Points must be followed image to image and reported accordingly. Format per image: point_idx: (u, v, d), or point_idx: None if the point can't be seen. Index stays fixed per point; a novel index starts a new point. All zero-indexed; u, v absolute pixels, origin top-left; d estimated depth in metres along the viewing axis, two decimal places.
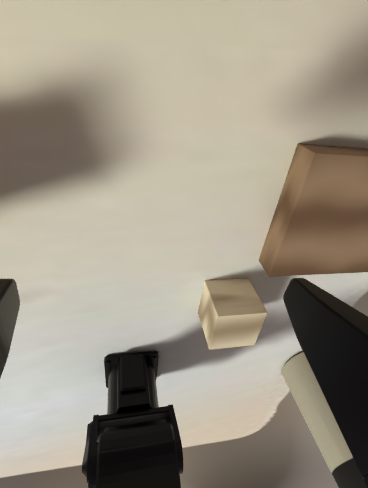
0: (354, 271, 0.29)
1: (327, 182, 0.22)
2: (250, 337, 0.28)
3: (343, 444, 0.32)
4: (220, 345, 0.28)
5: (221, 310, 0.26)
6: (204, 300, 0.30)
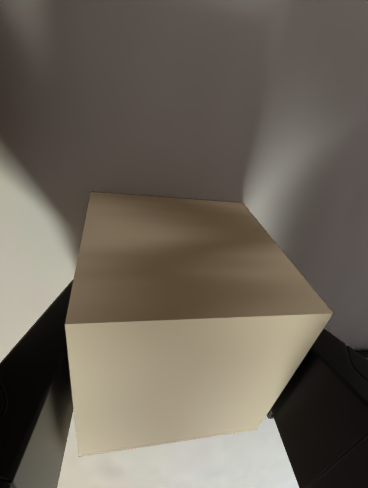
0: None
1: None
2: (259, 343, 0.06)
3: None
4: (251, 413, 0.07)
5: None
6: None
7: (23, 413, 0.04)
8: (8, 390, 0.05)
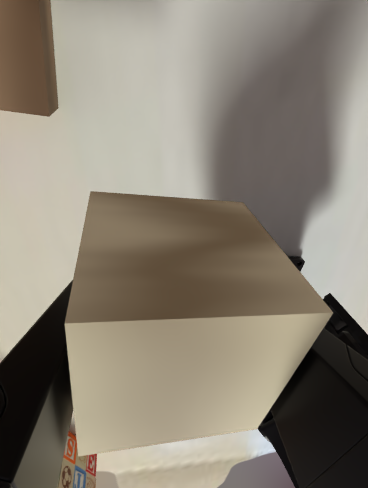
0: None
1: None
2: (258, 342, 0.06)
3: None
4: (251, 413, 0.07)
5: None
6: None
7: (23, 413, 0.04)
8: (8, 390, 0.05)
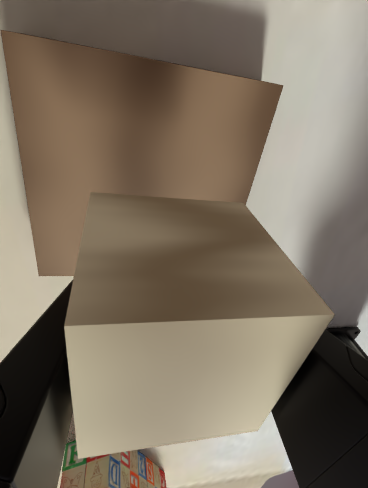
0: (266, 130, 0.14)
1: (76, 249, 0.16)
2: (259, 344, 0.06)
3: None
4: (252, 414, 0.07)
5: None
6: None
7: (23, 413, 0.04)
8: (8, 390, 0.05)
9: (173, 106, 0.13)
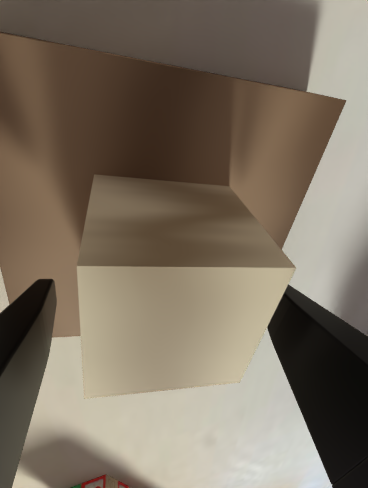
0: (317, 159, 0.11)
1: (65, 308, 0.13)
2: (235, 293, 0.07)
3: None
4: (233, 364, 0.09)
5: None
6: None
7: None
8: None
9: (197, 129, 0.09)
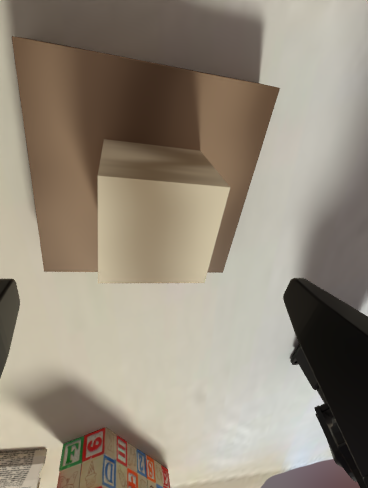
0: (263, 131, 0.15)
1: (80, 246, 0.17)
2: (193, 203, 0.11)
3: None
4: (198, 265, 0.13)
5: None
6: None
7: None
8: None
9: (174, 107, 0.13)
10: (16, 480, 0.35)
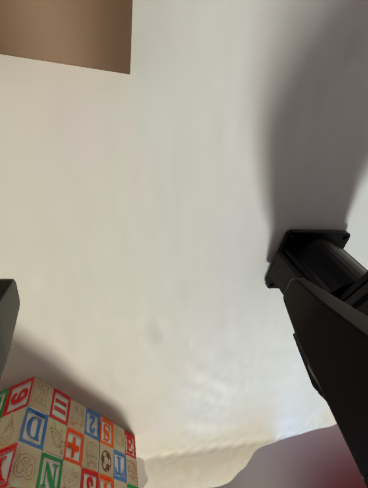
0: None
1: None
2: None
3: None
4: None
5: None
6: None
7: None
8: None
9: None
10: None
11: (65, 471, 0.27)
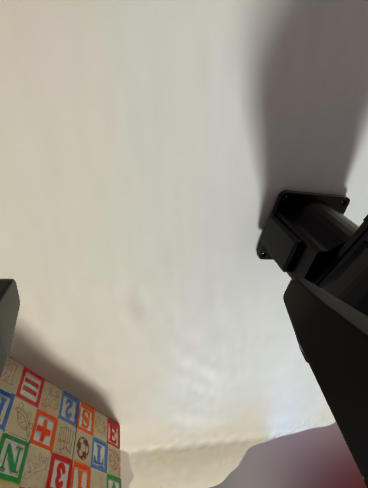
0: None
1: None
2: None
3: None
4: None
5: None
6: None
7: None
8: None
9: None
10: None
11: (31, 455, 0.25)
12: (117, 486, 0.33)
